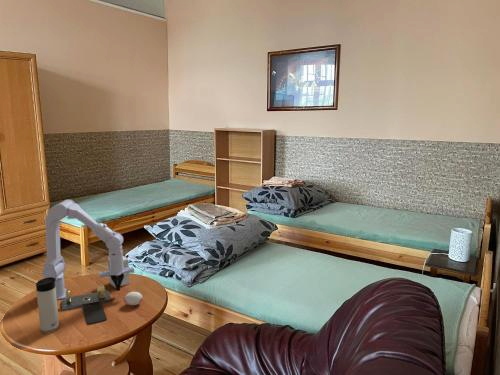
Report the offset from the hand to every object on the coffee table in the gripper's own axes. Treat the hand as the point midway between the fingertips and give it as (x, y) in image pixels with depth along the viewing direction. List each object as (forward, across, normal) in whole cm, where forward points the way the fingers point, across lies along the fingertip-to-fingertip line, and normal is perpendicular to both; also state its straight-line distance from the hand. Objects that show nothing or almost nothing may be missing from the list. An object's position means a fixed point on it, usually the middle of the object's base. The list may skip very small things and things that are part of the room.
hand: (118, 289), depth 169 cm
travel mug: (+3, -26, -17) cm, 31 cm away
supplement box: (+3, +2, +13) cm, 14 cm away
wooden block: (+1, -7, 0) cm, 7 cm away
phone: (+3, -11, -12) cm, 17 cm away
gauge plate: (+3, -13, 0) cm, 13 cm away
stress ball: (+3, +5, -10) cm, 12 cm away
